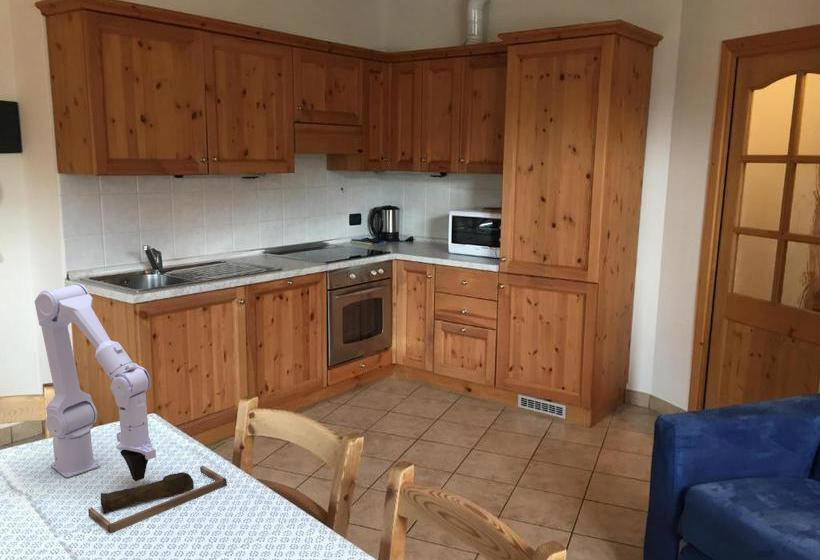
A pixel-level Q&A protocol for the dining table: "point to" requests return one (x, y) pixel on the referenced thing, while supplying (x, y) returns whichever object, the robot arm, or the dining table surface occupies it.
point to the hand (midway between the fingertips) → (138, 479)
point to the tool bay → (161, 507)
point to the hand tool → (148, 491)
